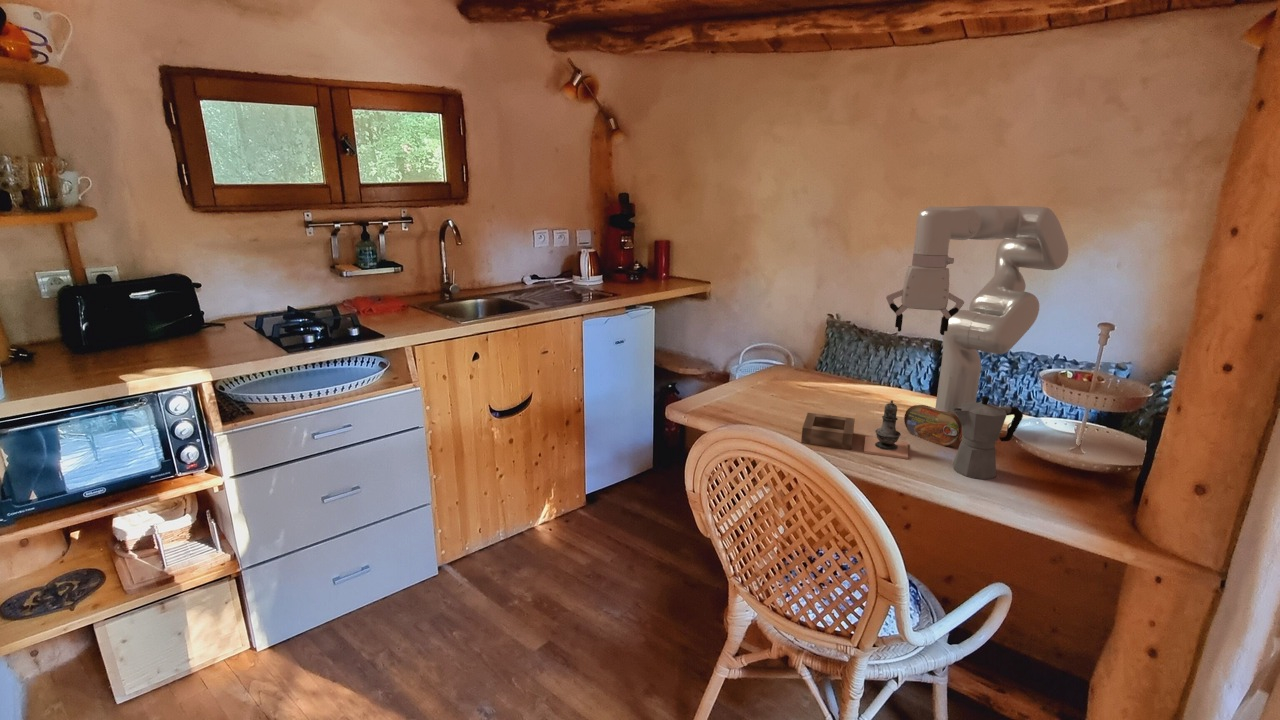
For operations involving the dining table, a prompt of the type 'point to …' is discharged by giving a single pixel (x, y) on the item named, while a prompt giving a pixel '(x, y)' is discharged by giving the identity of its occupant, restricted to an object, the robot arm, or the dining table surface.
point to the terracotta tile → (872, 449)
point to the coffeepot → (982, 437)
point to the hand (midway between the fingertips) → (920, 332)
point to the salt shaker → (888, 429)
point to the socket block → (828, 430)
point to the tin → (933, 424)
